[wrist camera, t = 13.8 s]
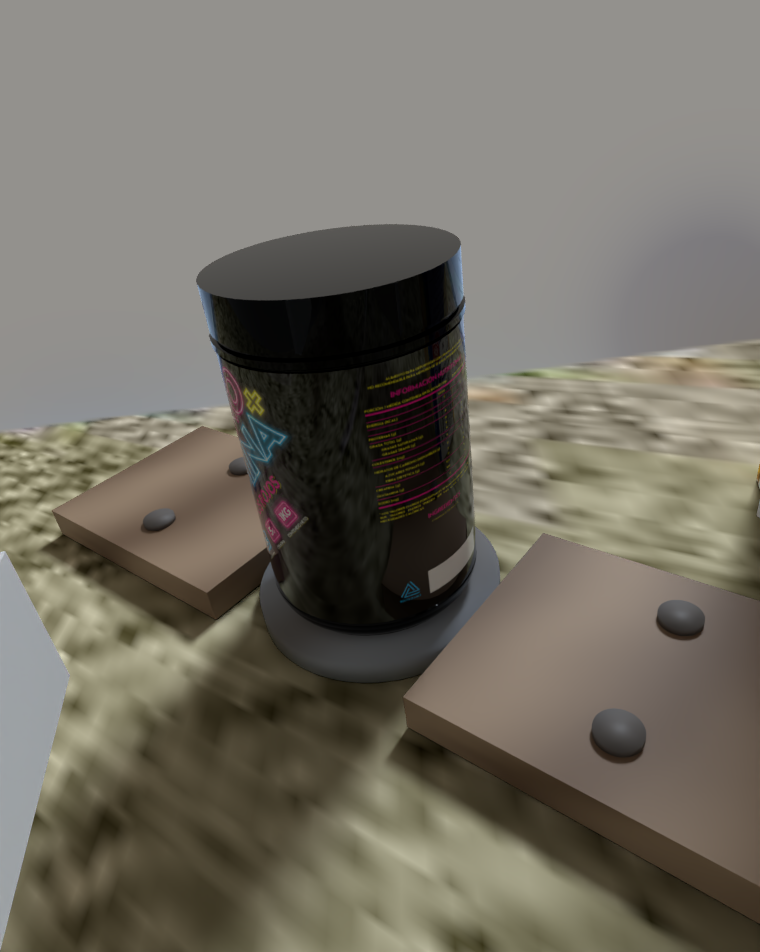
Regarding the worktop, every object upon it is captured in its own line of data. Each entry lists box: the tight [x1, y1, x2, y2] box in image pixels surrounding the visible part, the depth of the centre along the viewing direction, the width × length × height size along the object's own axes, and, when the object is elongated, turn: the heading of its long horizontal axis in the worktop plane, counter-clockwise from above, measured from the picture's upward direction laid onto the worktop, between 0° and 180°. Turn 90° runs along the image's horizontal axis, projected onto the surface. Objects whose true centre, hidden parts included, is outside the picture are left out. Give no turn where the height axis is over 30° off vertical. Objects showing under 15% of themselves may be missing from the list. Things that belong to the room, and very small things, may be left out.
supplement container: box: [196, 224, 477, 636], centre depth 20 cm, size 7×7×10 cm
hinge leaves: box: [52, 426, 760, 924], centre depth 23 cm, size 28×8×1 cm, turn 52°
